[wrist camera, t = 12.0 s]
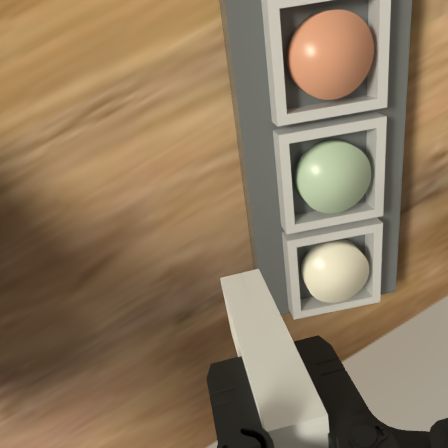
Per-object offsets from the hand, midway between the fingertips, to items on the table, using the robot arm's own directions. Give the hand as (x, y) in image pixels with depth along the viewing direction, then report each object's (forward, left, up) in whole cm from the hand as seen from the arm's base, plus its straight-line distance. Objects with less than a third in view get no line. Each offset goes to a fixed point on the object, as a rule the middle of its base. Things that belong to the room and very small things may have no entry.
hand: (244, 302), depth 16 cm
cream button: (+11, -13, -19) cm, 25 cm away
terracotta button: (+11, +6, -19) cm, 23 cm away
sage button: (+11, -3, -19) cm, 22 cm away
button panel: (+11, -3, -23) cm, 25 cm away
